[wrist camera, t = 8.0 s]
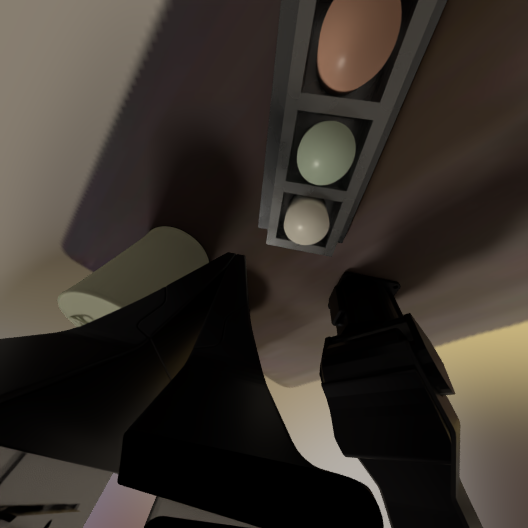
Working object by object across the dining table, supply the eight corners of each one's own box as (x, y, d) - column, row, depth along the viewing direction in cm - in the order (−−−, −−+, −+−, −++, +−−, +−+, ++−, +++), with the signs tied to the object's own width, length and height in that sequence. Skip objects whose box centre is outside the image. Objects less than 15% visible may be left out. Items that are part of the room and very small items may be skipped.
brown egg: (390, 14, 10) (419, -25, 8) (362, 99, 13) (377, 93, 10) (326, 8, 11) (332, -31, 8) (309, 92, 13) (310, 84, 10)
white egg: (331, 194, 17) (336, 208, 14) (319, 230, 19) (321, 248, 16) (291, 187, 17) (288, 200, 14) (284, 223, 19) (280, 240, 16)
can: (135, 222, 24) (23, 287, 15) (202, 229, 23) (128, 305, 13) (158, 276, 30) (89, 349, 20) (214, 284, 28) (167, 366, 19)
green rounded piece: (354, 124, 14) (365, 125, 11) (336, 177, 16) (343, 189, 13) (304, 117, 14) (304, 116, 11) (294, 170, 16) (291, 180, 13)
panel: (444, -5, 10) (497, -54, 7) (341, 239, 20) (346, 259, 17) (285, -18, 11) (277, -68, 8) (259, 224, 21) (251, 241, 18)
